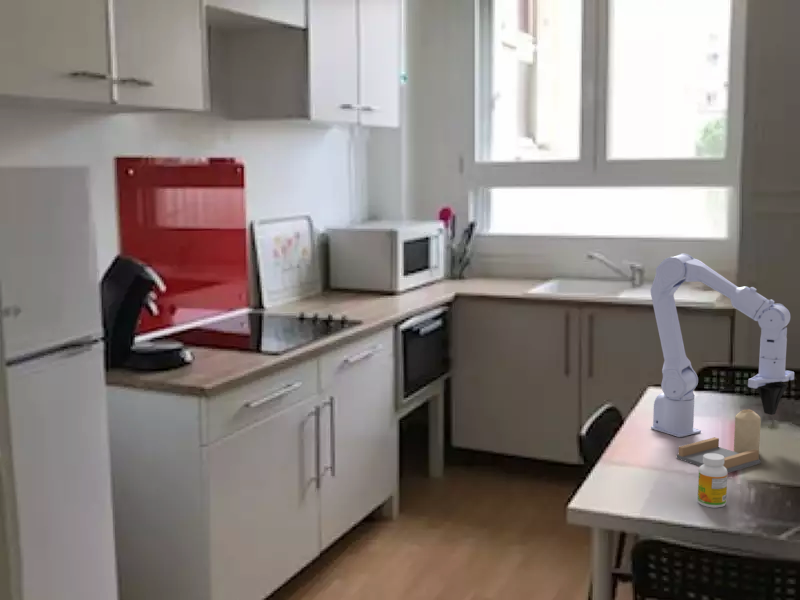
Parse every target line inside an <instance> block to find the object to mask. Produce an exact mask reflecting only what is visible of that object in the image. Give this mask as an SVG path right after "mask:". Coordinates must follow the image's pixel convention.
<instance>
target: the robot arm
mask: <svg viewBox="0 0 800 600" xmlns="http://www.w3.org/2000/svg"><path fill="white" fill-rule="evenodd" d="M686 282H690V283H691V282H692V283H696V282H699V283H702V284H704V285H706V286H707V287H708V288H711V289H712V290H714V291H716V292H717V293H720V294H721V295H723V296H725V297H726V298H728V299H730V304H731V306H732V308H734V309H736V310H737V311H739V312H741V313H742V314H743V315H745V316H746V317H748V318H750V319H752V320H753V321H755V322H757V323H758V326H759V328H760V331H761V332H760V338H759V339H760V340H759V342H760V343H759V361H758V373H757V374H756V375H754V376H753V377H751V378H748V380H747V381H748V382H747V387H748V388H751V389H756V390H757V392H758V395H759V397H760V399H761V404H762V408H763V413H764V414H767V415H771V416H773V415H775V414H776V413H777V410H778V406H779V405H780V404H779V403H780V401H781V399H782V396H783V395H784V393H785V392H786V390H787V388H788V384H786V382H789V381H795V372H794V371H792V370H787V369H786V361H787V348H788V347H787V343H788V338H787V337H788V335H787V334H788V327H787V326H788V324H789V323H790V321H791V313H790V310H789V309H788V308H787V307H786V306H784V304H783V303H775V302H776V301H775V300H774V299H768V298H766V297H765V296H764V295H762V294H760V293H758V292H757V290H758V289H757V288H755V287H754V286H751V287H749V286H740V287H739V286H737V285H736V284H735V283H733V282H731V281H730V280H728V279H727V278H726V277H724V276H723V275H722V274H720V273H719V272H717V271H716V270H714V269H712V268H711V267H710V266H708V265H707V264H705V263H704V262H703V261H701V260H699V259H698V258H694V257H693V256H692V255H690V254H688V253H680V254H677V255H675V256H669V257H666V258H664V259H663V260H661V262H660V264H659V265H657V266H656V268H655V276H654V279H653V282H652V284H651V286H650V287H651V288H650V295H651V301H652V306H653V311H654V315H655V316H654V317H655V321H656V326H657V330H658V335H659V340H660V345H661V351H662V355H663V359H664V361H663V365H662V369H661V373H662V381H661V385H660V386H661V390H662V392H661V393H659V394H658V395H657V396H656V397H655V400H654V401H653V417H652V418H653V421H652V424H653V425H652V426H650V429H652V430H655V431H658V432H661V433H665V434H668V435H671V436H675V437H677V438H683V437H687V436H690V435H694V434H698V433H701V431H702V430H701V429H700V428H699V429H698V428H695V427H694V421H695V420H694V418H695V417H694V416H695V397H696V396H695V394H694V390H695V389H696V387H698V383H699V377H698V375H697V373H696V371H695V370H694V368H693V366H692V362H691V360H690V359H689V358H688V356H687V354H686V350H685V346H684V340H683V335H682V334H683V333H682V330H681V329H682V328H681V325H680V320H679V315H678V310H677V306H676V301H675V296H674V294H675V293H676V291H678V289H679V288H680V287H681V285H682V284H683V283H686ZM782 382H783V383H782Z"/></svg>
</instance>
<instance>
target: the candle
mask: <svg viewBox="0 0 800 600" xmlns="http://www.w3.org/2000/svg"><path fill="white" fill-rule="evenodd" d="M761 418H762V417H761V416H760V415H759V414H758V413H756V411H754V410H752V409H750V408H748V409H742V410H740V411H739V412H738V413H737V414H736V415H735V418H734V419H735V420H734V437H733V438H734V439H733V451H734V452H737V453H743V452H746V451H750V450H753V449H755V450H759V451H760V443H761V442H760V441H761V422H762V421H761V420H762V419H761Z"/></svg>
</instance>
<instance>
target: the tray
mask: <svg viewBox="0 0 800 600" xmlns="http://www.w3.org/2000/svg"><path fill="white" fill-rule="evenodd" d="M719 440H720V438H719V437H710V438H707V439H703V440H700V441H696V442H692V443H688V444H685V445H680V446H678V454H676V459H678V458H679V459H678V460H681V459H682V460H681V461H684V460H686V461H685V462H687V461H688V462H687V463H690V462H691V463H690V464H693V465H696V464H697V465H696V466H699V467H700V466H701V465H703V464H704V463H703V455H704V454H707V453H716V454H720V455H723V456H724V465H723V466H724V467H725V468H726V469H727V474H729V473H732V472H735V471H739V470H743V469H745V468H749V467H753V466H755V465H759V464H761V459H759V457H760V456H759V455H760V449H759V450H755V449H753V450H750V451H746V452H743V453H737V452H734V450H729V449H726V448H724V447H721V446H720V445H719V444H720V441H719ZM752 465H753V466H752Z"/></svg>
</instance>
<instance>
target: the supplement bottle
mask: <svg viewBox="0 0 800 600" xmlns="http://www.w3.org/2000/svg"><path fill="white" fill-rule="evenodd" d="M703 463H704V464H703V465H701V466H699V467H698V481H697V482H698V484H697V486H698V487H697V502H698V503H699V504H700V505H701V506H703V507H706V508H712V509H713V508H722V507H725V506H726V505H727V504H726V503H727V494H728V491H727V489H728V473H727V469H726V468H725V467H724V466H723V465H724V456H723V455H720V454H716V453H707V454H704V455H703Z"/></svg>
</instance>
